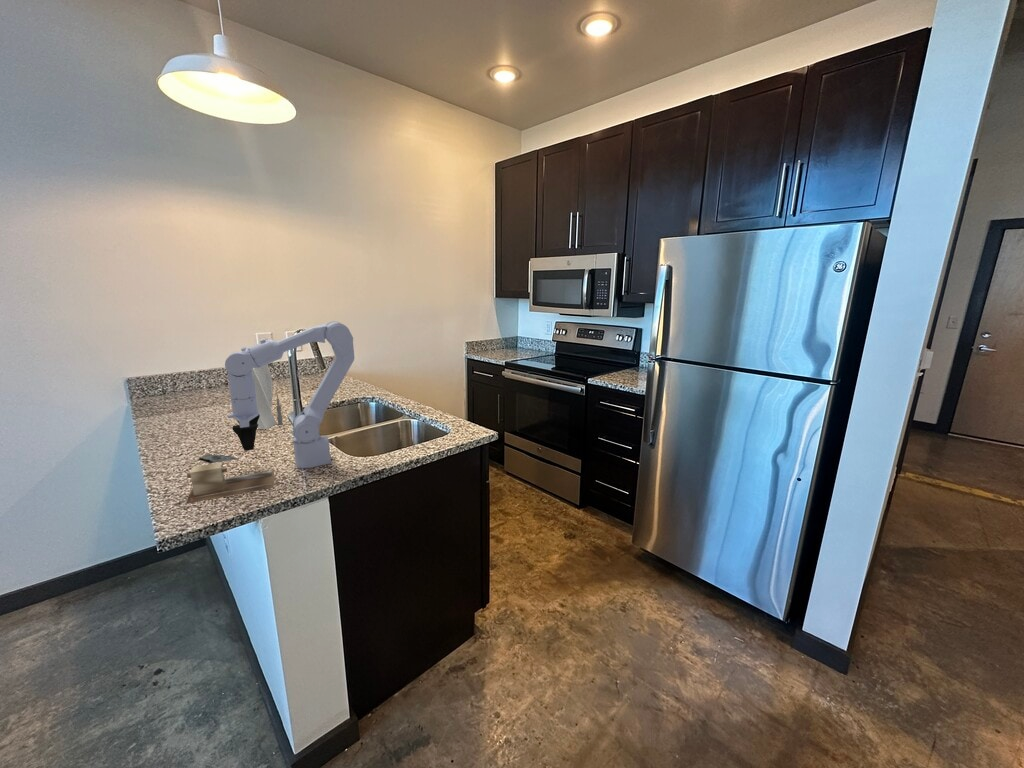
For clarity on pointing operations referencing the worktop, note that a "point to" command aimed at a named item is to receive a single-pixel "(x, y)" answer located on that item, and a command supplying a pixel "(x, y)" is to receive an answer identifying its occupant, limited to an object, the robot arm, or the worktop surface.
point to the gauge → (207, 478)
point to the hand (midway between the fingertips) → (249, 445)
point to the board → (238, 486)
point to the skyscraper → (265, 398)
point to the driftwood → (217, 458)
